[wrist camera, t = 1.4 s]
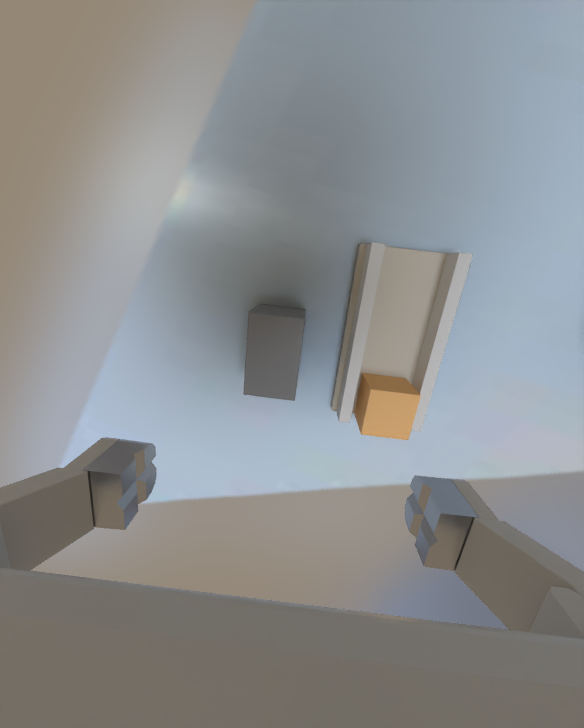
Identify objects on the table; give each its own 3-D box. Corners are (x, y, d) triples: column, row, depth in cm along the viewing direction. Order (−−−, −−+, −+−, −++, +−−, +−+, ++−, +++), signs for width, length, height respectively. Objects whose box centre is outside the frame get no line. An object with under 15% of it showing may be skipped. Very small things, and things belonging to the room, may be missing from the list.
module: (259, 303, 31) (248, 312, 26) (305, 309, 31) (305, 319, 26) (254, 372, 34) (243, 394, 28) (296, 378, 34) (294, 400, 28)
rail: (359, 244, 29) (371, 239, 24) (460, 256, 29) (493, 254, 24) (331, 406, 35) (335, 431, 30) (414, 416, 35) (433, 443, 29)
